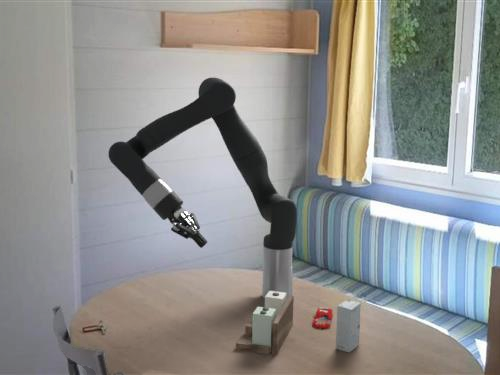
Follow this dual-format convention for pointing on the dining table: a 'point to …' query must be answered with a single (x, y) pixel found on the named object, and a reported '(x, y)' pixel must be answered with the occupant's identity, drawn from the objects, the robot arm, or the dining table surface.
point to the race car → (322, 318)
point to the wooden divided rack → (280, 331)
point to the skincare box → (348, 325)
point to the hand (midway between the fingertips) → (204, 245)
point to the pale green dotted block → (263, 326)
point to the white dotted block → (275, 300)
